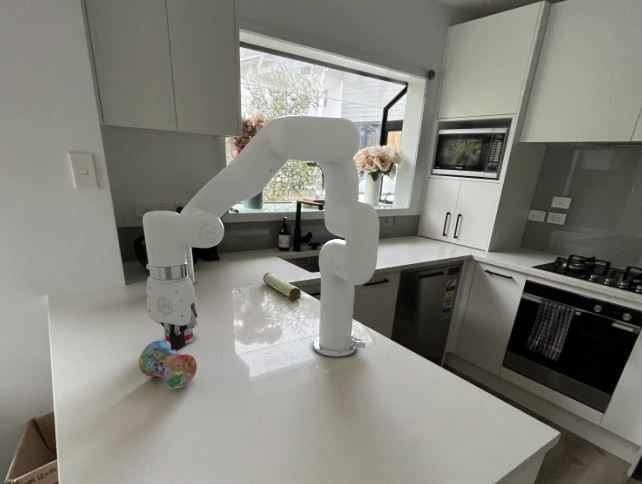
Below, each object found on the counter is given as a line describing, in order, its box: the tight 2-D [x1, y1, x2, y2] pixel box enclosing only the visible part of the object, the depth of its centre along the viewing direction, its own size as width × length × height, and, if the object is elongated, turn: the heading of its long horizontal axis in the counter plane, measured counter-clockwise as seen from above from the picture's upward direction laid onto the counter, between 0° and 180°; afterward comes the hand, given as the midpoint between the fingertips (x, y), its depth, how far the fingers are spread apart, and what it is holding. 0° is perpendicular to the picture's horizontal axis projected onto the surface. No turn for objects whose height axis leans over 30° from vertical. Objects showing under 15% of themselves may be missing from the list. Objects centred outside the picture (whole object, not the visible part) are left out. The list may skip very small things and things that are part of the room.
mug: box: [138, 339, 198, 389], centre depth 91 cm, size 12×9×11 cm
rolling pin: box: [262, 272, 302, 301], centre depth 158 cm, size 32×6×5 cm, turn 32°
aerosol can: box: [185, 247, 196, 285], centre depth 161 cm, size 7×7×20 cm
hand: (178, 347), depth 88 cm, fingers closed
